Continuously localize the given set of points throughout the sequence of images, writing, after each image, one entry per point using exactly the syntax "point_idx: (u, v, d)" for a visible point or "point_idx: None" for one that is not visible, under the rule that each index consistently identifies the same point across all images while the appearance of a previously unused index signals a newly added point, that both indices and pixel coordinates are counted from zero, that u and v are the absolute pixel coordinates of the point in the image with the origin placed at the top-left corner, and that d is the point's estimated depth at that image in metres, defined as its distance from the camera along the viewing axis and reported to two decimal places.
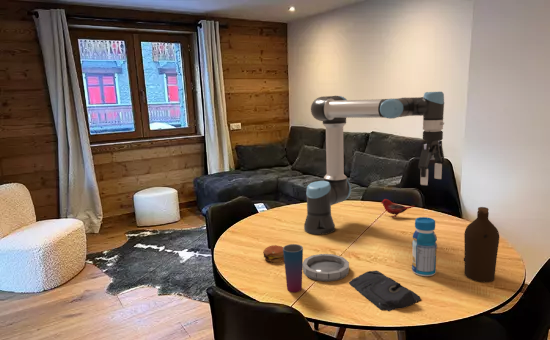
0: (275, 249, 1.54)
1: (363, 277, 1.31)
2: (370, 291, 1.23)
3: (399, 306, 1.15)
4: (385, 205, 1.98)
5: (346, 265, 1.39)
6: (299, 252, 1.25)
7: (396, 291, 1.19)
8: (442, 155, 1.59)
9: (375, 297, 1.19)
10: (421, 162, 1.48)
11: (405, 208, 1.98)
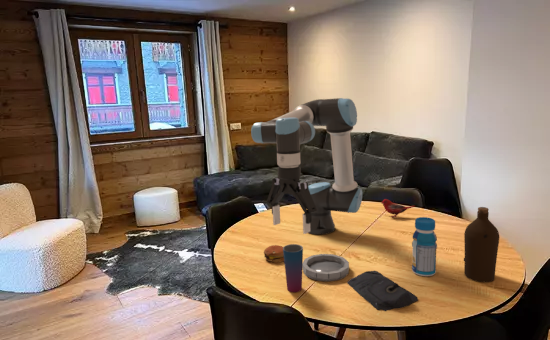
0: (275, 249, 1.54)
1: (361, 277, 1.31)
2: (368, 291, 1.23)
3: (396, 306, 1.15)
4: (385, 205, 1.98)
5: (346, 265, 1.39)
6: (299, 252, 1.25)
7: (393, 291, 1.19)
8: (305, 203, 1.18)
9: (372, 297, 1.19)
10: None
11: (405, 208, 1.98)
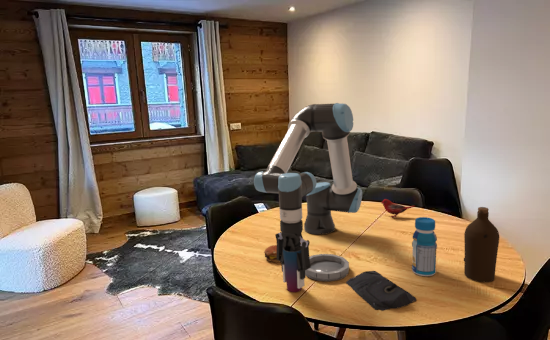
0: (276, 249, 1.54)
1: (360, 277, 1.31)
2: (366, 291, 1.23)
3: (393, 307, 1.15)
4: (385, 205, 1.98)
5: (346, 265, 1.39)
6: (299, 252, 1.25)
7: (391, 291, 1.19)
8: (302, 260, 1.23)
9: (370, 298, 1.20)
10: None
11: (405, 208, 1.98)
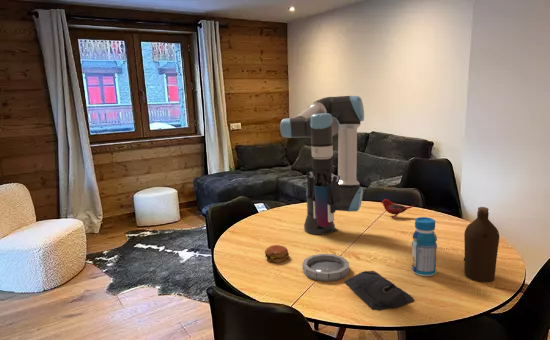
0: (276, 249, 1.54)
1: (358, 277, 1.31)
2: (364, 291, 1.23)
3: (391, 307, 1.15)
4: (385, 205, 1.98)
5: (346, 265, 1.39)
6: (329, 187, 1.34)
7: (389, 292, 1.19)
8: (332, 194, 1.32)
9: (368, 297, 1.20)
10: None
11: (405, 208, 1.98)
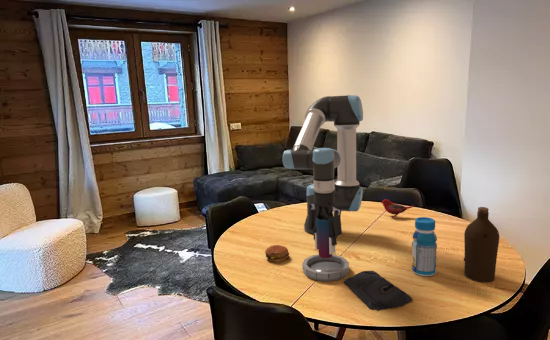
0: (277, 249, 1.54)
1: (357, 277, 1.31)
2: (363, 291, 1.24)
3: (389, 306, 1.15)
4: (385, 205, 1.98)
5: (346, 265, 1.39)
6: (331, 220, 1.36)
7: (387, 291, 1.19)
8: (334, 228, 1.34)
9: (366, 297, 1.20)
10: None
11: (405, 208, 1.98)
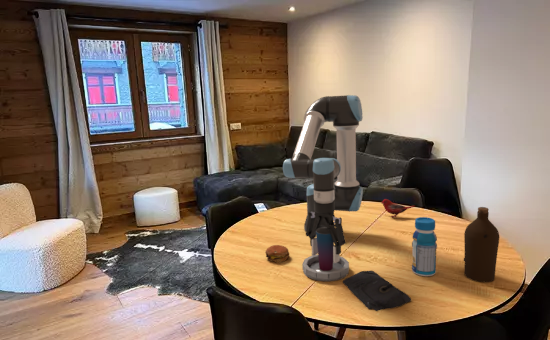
0: (277, 249, 1.54)
1: (357, 277, 1.32)
2: (361, 290, 1.24)
3: (387, 306, 1.15)
4: (385, 205, 1.98)
5: (346, 265, 1.39)
6: None
7: (386, 291, 1.19)
8: (337, 237, 1.34)
9: (365, 297, 1.20)
10: None
11: (405, 208, 1.98)
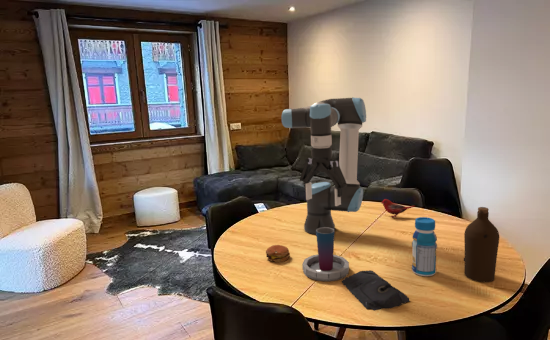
0: (277, 249, 1.54)
1: (355, 277, 1.32)
2: (360, 290, 1.24)
3: (385, 306, 1.16)
4: (385, 205, 1.98)
5: (346, 265, 1.39)
6: (331, 234, 1.37)
7: (384, 291, 1.19)
8: (337, 179, 1.34)
9: (363, 297, 1.20)
10: None
11: (405, 208, 1.98)
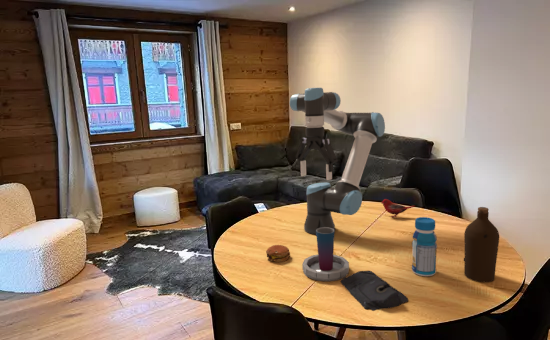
0: (278, 249, 1.54)
1: (354, 277, 1.32)
2: (358, 290, 1.24)
3: (384, 306, 1.16)
4: (385, 205, 1.98)
5: (346, 265, 1.39)
6: (331, 234, 1.37)
7: (383, 291, 1.19)
8: (328, 155, 1.49)
9: (362, 297, 1.20)
10: None
11: (405, 208, 1.98)
